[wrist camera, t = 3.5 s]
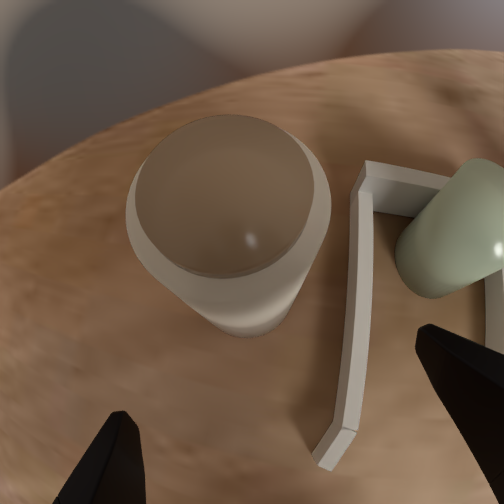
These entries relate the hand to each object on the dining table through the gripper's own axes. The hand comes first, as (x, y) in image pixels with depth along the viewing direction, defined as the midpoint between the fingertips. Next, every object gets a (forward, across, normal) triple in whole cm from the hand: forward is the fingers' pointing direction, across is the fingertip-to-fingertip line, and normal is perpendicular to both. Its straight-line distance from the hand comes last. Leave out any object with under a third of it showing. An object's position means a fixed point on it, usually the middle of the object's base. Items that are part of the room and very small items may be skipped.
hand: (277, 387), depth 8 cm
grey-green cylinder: (+11, -14, +6) cm, 18 cm away
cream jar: (+12, 0, +5) cm, 13 cm away
